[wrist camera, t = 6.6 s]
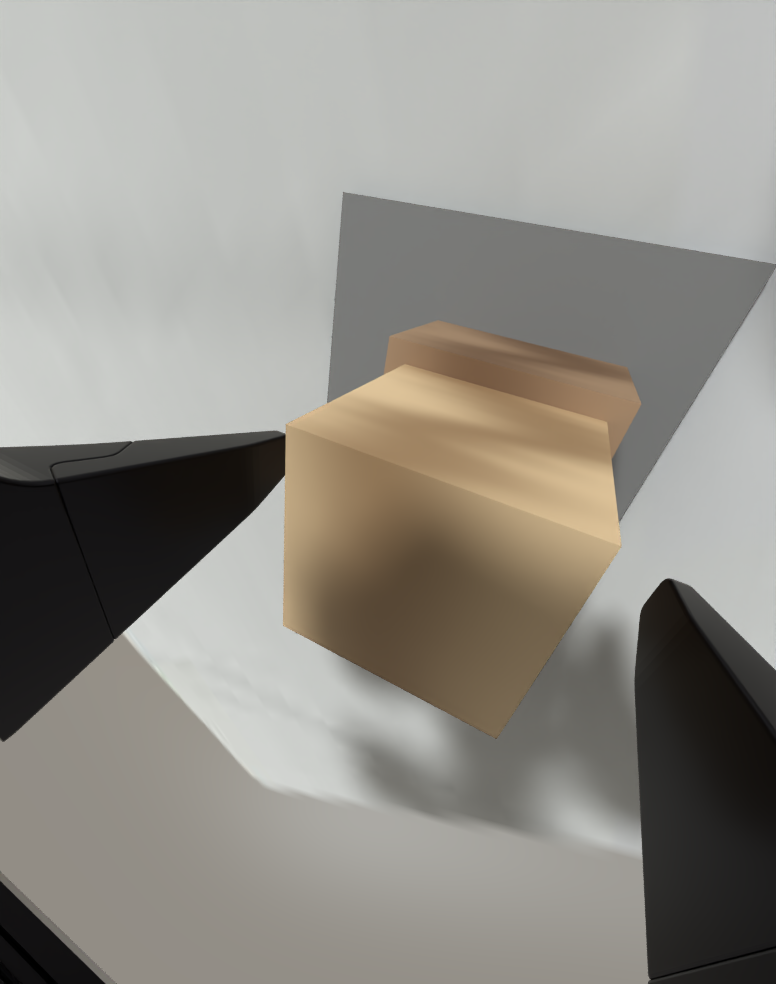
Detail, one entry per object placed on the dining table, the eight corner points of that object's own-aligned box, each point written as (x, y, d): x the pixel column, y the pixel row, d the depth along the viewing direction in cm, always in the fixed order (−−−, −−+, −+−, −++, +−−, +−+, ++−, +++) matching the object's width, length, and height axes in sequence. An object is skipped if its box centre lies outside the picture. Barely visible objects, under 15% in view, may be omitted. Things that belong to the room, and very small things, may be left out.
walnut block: (627, 367, 12) (641, 404, 8) (549, 524, 15) (538, 594, 12) (437, 320, 13) (389, 335, 10) (405, 471, 16) (361, 519, 13)
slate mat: (771, 264, 10) (777, 264, 9) (592, 558, 15) (592, 564, 15) (349, 194, 13) (343, 192, 13) (327, 457, 18) (322, 461, 18)
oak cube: (606, 421, 9) (621, 546, 5) (528, 577, 12) (497, 739, 8) (404, 364, 10) (286, 424, 6) (377, 516, 13) (283, 625, 9)
